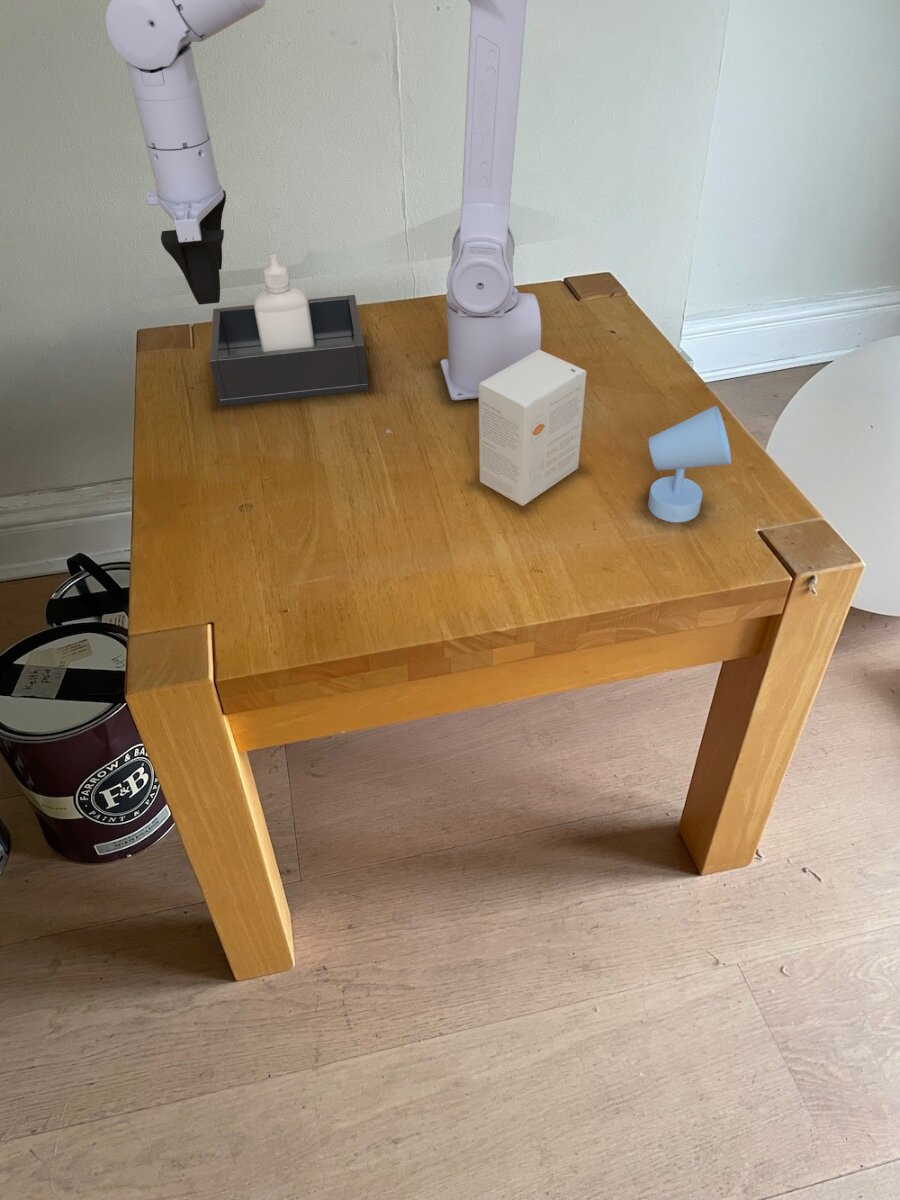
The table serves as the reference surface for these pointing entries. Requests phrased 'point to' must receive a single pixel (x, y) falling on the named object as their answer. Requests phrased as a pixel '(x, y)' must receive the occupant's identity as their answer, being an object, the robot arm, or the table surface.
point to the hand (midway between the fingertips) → (210, 285)
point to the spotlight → (686, 463)
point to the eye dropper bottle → (282, 312)
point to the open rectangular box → (288, 355)
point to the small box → (530, 425)
